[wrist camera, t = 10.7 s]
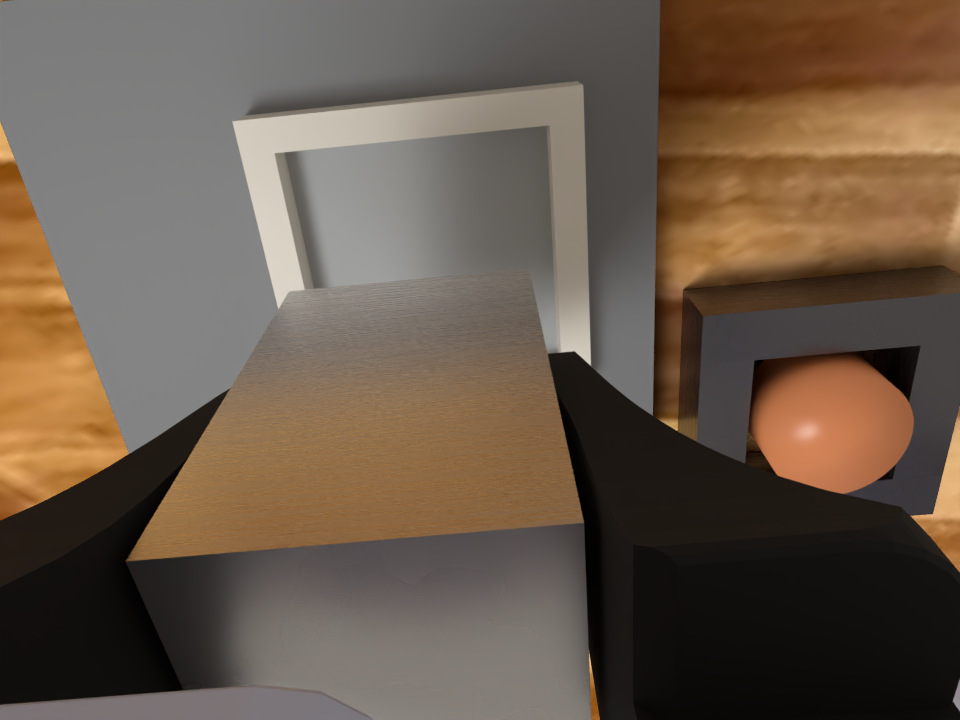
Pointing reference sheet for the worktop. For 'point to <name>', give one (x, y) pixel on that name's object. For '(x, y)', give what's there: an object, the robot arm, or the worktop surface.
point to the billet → (383, 512)
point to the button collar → (824, 330)
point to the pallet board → (331, 170)
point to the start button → (828, 420)
